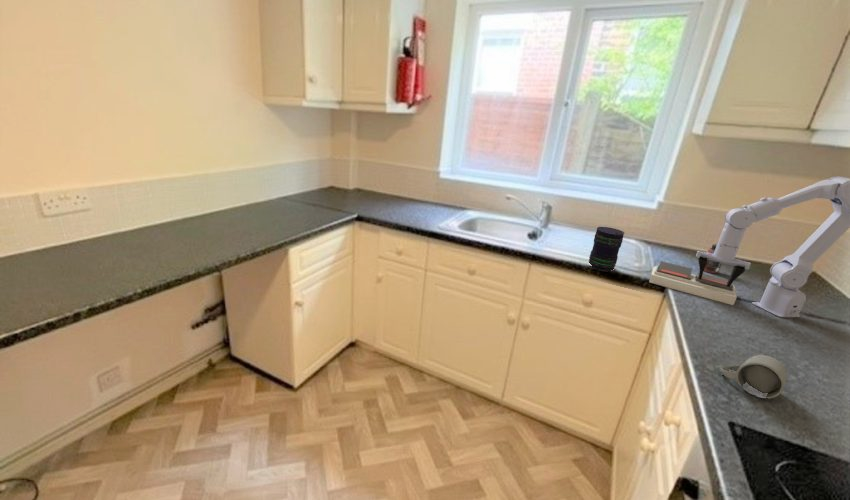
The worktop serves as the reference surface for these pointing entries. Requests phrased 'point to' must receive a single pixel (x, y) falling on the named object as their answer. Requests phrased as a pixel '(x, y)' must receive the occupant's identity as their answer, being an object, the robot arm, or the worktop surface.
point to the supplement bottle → (712, 262)
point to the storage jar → (606, 248)
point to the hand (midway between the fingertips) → (713, 282)
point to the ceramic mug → (759, 374)
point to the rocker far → (674, 270)
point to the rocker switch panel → (693, 287)
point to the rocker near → (714, 281)
